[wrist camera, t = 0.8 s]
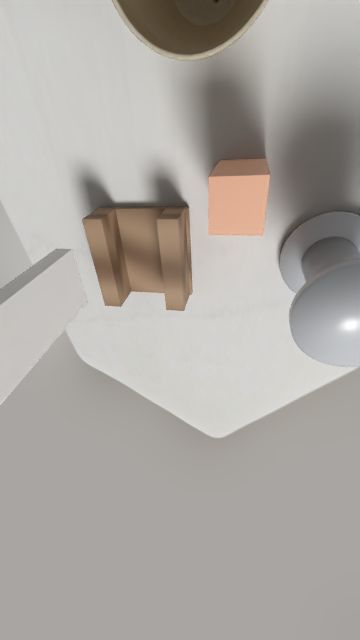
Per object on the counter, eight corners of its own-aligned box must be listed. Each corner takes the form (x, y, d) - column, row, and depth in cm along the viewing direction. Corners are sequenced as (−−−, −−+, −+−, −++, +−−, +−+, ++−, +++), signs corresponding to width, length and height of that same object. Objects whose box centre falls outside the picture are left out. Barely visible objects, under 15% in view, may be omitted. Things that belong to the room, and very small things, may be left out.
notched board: (98, 207, 30) (79, 219, 27) (188, 206, 28) (180, 219, 25) (116, 287, 36) (103, 305, 33) (192, 292, 34) (186, 311, 31)
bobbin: (287, 211, 26) (303, 260, 18) (394, 210, 24) (470, 265, 16) (274, 292, 32) (281, 360, 23) (361, 297, 30) (404, 373, 21)
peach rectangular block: (219, 160, 25) (208, 176, 19) (265, 158, 24) (270, 174, 18) (218, 206, 27) (208, 234, 21) (260, 206, 27) (263, 235, 20)
